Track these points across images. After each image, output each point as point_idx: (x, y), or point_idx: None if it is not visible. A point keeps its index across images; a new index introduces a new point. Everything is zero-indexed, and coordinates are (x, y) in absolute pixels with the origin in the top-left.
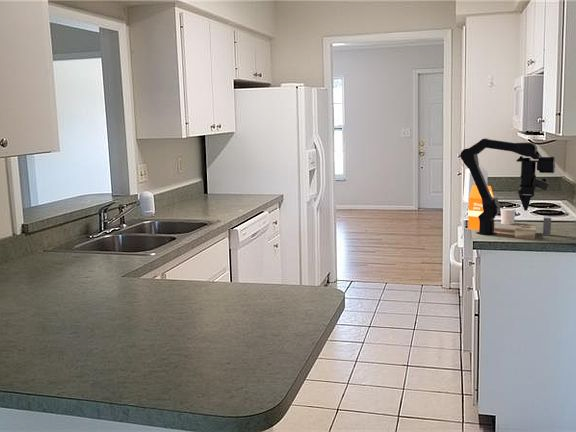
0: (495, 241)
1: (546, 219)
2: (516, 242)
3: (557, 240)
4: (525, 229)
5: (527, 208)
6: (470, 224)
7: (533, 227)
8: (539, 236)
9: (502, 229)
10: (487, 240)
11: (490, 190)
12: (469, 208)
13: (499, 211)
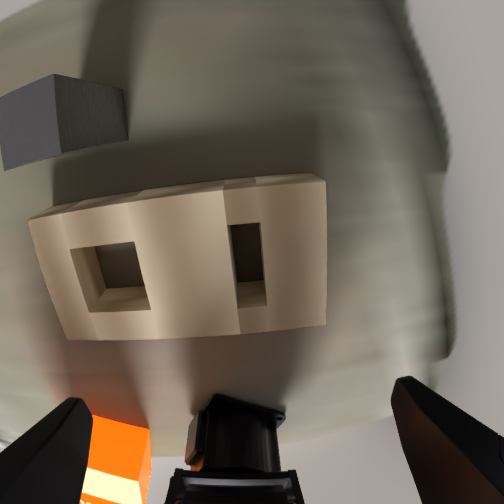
0: (428, 352)
1: (63, 122)
2: (441, 265)
3: (290, 22)
4: (216, 270)
5: (432, 391)
6: (148, 480)
7: (90, 226)
8: (174, 155)
9: (71, 377)
10: None
11: None
12: None
13: (202, 501)
